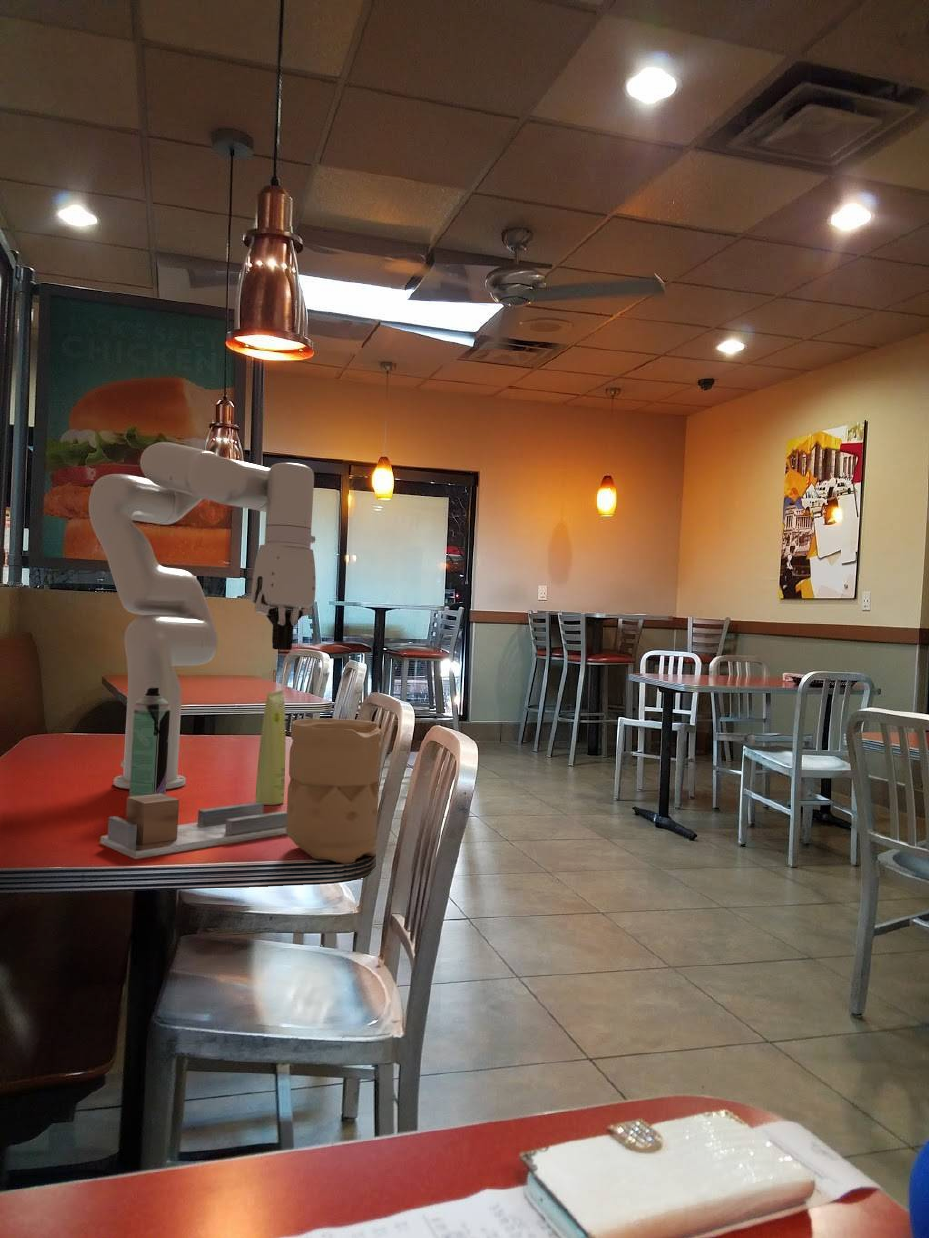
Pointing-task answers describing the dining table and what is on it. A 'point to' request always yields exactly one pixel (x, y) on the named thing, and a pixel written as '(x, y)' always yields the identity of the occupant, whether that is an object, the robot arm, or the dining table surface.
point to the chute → (200, 830)
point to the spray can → (150, 745)
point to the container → (334, 788)
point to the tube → (272, 752)
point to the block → (153, 817)
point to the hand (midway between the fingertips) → (281, 649)
